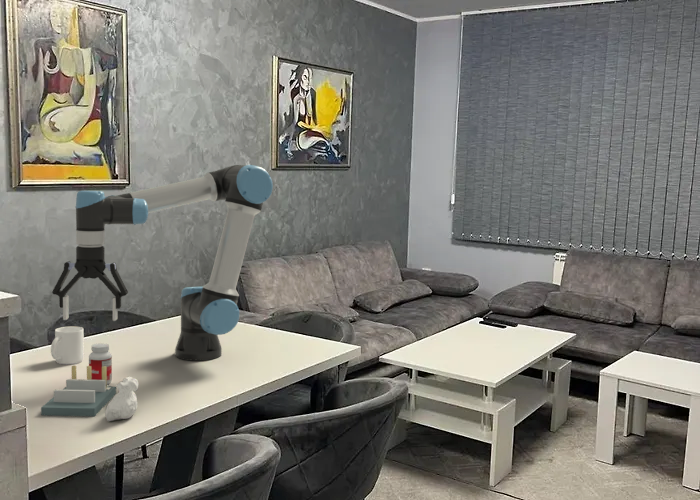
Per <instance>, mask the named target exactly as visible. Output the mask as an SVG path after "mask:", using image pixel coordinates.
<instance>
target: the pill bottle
mask: <svg viewBox="0 0 700 500" xmlns="http://www.w3.org/2000/svg"><path fill="white" fill-rule="evenodd" d="M91 351H92V352H90V354H89V355H88V366H91V375H92V380H102V367H103V366H106V367H107V386H109V385H110V384H111V383H112V380H113V378H112V377H113V373H112V371H113V362H112V361H113V360H112V359H113V355H112V353H111V352H110V345H109V343H104V342H103V343H101V342H100V343H94V344H92V345H91Z"/></svg>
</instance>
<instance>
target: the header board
mask: <svg viewBox="0 0 700 500" xmlns="http://www.w3.org/2000/svg"><path fill="white" fill-rule="evenodd" d="M65 382H66V383H65V387H64V388H61V389H60V388H59V389H58V388H56V389H54V390H53V397H51V399H49V400H48V401H47V402H45V404H43V405H42V406H41V408H40V413H41V416H61V417H62V416H65V417H66V416H67V417H72V416H73V417H96V416H97V415H98V414H99V413H100V411H101V410H102V409H103V408H105V406H106V405H107V404H109V403H110V402H111V400H112V399H113V397H114V396H115V395H116V394H117V387H116V386H117V385H115V386H114V385H110V386H109V385H107V367H106V366H103V367H102V380H92V375H91V366H89V365H87V366H86V379H82V378H80V379H78V378H77V365H71V378H66V380H65Z"/></svg>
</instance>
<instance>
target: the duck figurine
mask: <svg viewBox="0 0 700 500" xmlns="http://www.w3.org/2000/svg"><path fill="white" fill-rule="evenodd" d="M138 381H139V380H138V379H136V378H135V377H132V376H126V377H124V378H123V379H122V380H121V381H120V382H118V383H116V385H115V386H116V389H117V390H118V393H116V394H115V395H114V396H113V397H112V399H111V400H110V401H109V402H108V403H107V404H108V405H107V406H106V409H105V412H104V413H105V414H104V415H105V416H104V417H105V421H107V422H112V421H116V420H117V421H118V420H124V419H125V420H127V419H129V418H131V417H132V416H133V415H135V413H136V411H137V409H138V399H137V398H138V397H137V394H136V393H135V392H136V391H137V390H138V389H139V382H138Z"/></svg>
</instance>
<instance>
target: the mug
mask: <svg viewBox="0 0 700 500" xmlns="http://www.w3.org/2000/svg"><path fill="white" fill-rule="evenodd" d="M54 335H55V336H54V339H53V340H52V343H51V344H50V353H51V355H50V356H51V357H52V359H53V360H55V362H56V363H57V364H59V365H67V366H68V365H75V364H80V363H81V362H83V361H84V357H85V356H84V355H85V354H84V352H85V349H84V348H85V347H84V345H85V344H84V342H85V341H84V339H85V338H84V337H85V336H84V327H82V326H73V325H72V326H62V327H58V328H55V329H54Z"/></svg>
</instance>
